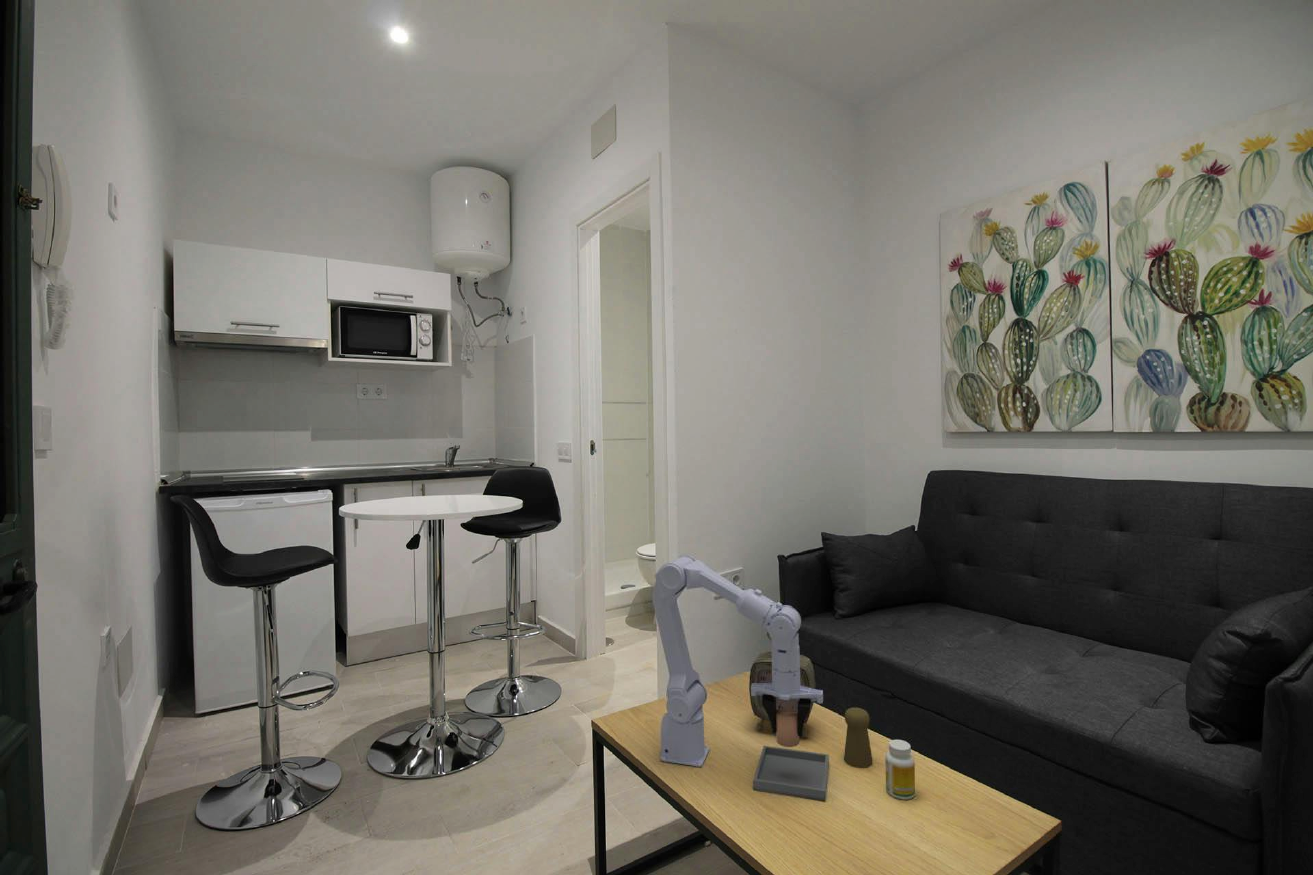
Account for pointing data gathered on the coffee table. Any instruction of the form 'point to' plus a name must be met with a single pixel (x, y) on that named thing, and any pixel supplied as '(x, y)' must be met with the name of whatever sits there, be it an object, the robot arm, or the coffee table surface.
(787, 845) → the coffee table surface
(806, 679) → the tabletop clock
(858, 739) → the brown pawn figure
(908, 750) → the supplement bottle
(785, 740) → the brown clay cylinder
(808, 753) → the tray
